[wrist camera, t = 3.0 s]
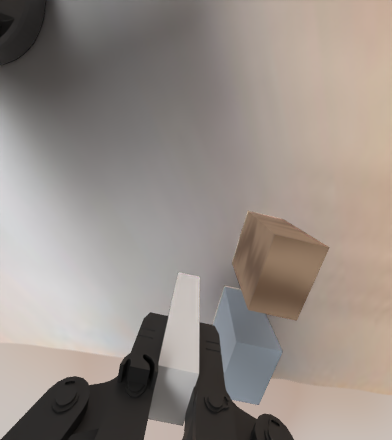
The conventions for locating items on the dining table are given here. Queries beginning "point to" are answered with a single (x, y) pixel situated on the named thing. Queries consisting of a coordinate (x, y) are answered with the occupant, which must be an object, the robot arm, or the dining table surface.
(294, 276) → the walnut block
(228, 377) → the slate block
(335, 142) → the dining table surface
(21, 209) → the dining table surface
